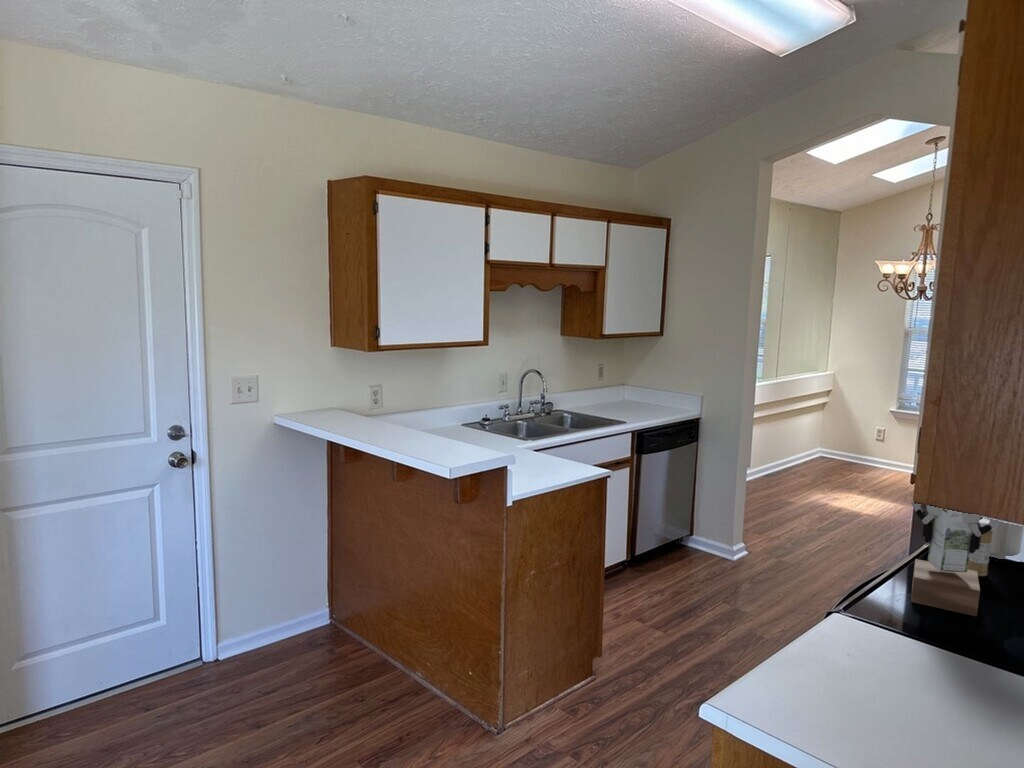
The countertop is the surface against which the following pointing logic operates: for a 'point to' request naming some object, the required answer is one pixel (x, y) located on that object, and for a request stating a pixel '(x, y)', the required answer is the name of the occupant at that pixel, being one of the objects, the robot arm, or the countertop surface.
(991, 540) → the robot arm
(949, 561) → the syrup box
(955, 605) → the walnut block
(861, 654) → the countertop surface
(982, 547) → the sprinkles bottle
